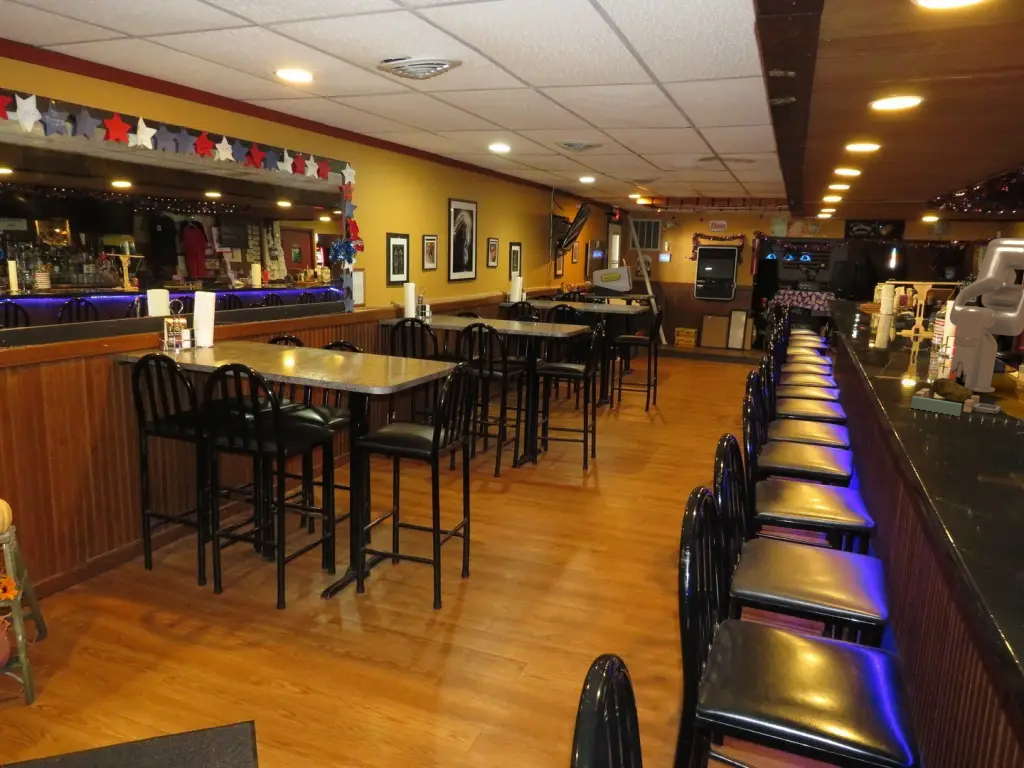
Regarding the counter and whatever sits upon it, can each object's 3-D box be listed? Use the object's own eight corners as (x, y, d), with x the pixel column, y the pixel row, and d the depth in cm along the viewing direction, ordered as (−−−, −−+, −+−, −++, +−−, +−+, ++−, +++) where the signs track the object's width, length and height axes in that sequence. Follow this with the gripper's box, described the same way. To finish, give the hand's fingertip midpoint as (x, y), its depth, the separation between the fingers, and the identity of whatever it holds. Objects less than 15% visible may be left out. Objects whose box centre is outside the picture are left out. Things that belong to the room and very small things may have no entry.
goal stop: (911, 407, 234) (913, 396, 233) (959, 415, 225) (961, 403, 224) (910, 408, 233) (912, 396, 232) (958, 416, 224) (960, 404, 223)
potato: (974, 405, 241) (978, 383, 239) (931, 400, 246) (934, 378, 244) (970, 400, 248) (974, 379, 246) (929, 396, 253) (932, 374, 252)
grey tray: (978, 407, 238) (978, 402, 238) (1000, 410, 234) (1001, 406, 234) (972, 411, 232) (973, 406, 231) (995, 414, 228) (996, 410, 227)
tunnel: (922, 397, 251) (924, 387, 250) (978, 406, 240) (979, 396, 239) (913, 403, 241) (914, 393, 240) (970, 412, 230) (971, 402, 229)
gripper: (958, 339, 259) (950, 387, 262) (950, 343, 248) (941, 393, 251) (982, 342, 254) (974, 391, 257) (974, 345, 243) (965, 396, 247)
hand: (958, 391), depth 254 cm, fingers closed
